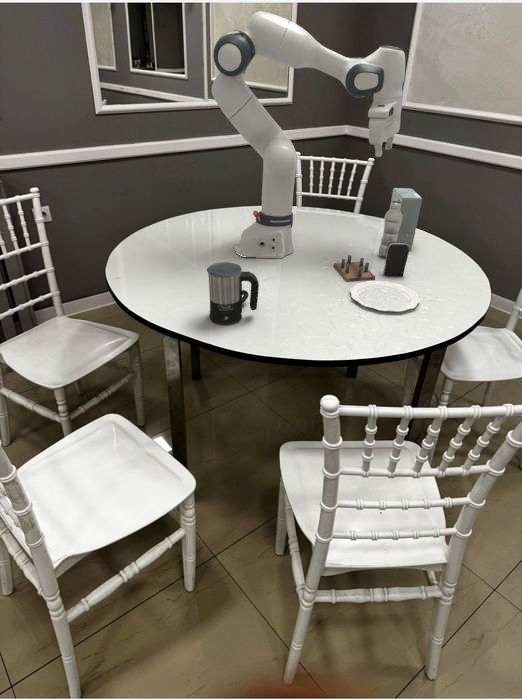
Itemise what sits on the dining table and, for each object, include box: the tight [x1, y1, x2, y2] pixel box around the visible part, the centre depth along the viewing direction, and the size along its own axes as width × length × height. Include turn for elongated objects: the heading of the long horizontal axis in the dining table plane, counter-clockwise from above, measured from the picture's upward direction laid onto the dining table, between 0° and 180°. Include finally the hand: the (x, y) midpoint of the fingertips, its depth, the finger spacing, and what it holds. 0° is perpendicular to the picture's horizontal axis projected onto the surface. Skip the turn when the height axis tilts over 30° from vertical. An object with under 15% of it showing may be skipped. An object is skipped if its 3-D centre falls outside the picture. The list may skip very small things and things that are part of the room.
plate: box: [349, 280, 421, 313], centre depth 145 cm, size 21×21×2 cm
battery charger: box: [382, 242, 410, 277], centre depth 158 cm, size 7×4×11 cm, turn 88°
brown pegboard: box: [333, 254, 376, 283], centre depth 160 cm, size 10×13×4 cm
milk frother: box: [206, 261, 260, 326], centre depth 132 cm, size 14×16×15 cm
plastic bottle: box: [378, 200, 403, 258], centre depth 170 cm, size 6×7×20 cm
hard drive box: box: [389, 187, 423, 252], centre depth 182 cm, size 16×8×20 cm, turn 179°
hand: (383, 152), depth 156 cm, fingers open, 8 cm apart
